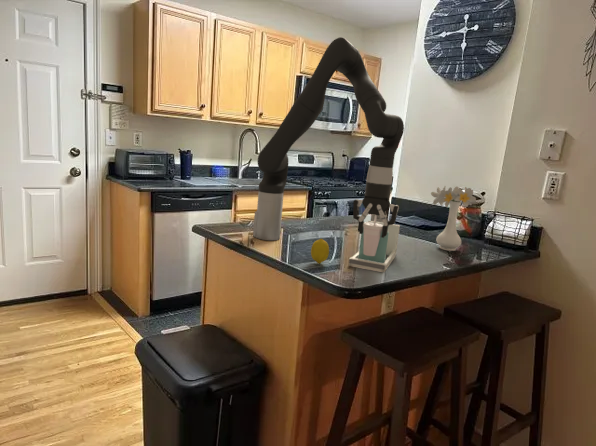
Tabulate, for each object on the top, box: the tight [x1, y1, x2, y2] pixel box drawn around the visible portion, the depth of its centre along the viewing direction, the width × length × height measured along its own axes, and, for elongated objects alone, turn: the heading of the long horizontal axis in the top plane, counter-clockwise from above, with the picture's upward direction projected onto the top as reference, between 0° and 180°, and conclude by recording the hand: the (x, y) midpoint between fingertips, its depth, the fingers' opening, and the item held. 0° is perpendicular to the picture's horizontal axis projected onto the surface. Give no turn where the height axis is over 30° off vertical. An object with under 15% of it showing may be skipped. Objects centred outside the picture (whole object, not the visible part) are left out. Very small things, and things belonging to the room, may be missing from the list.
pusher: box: [358, 229, 389, 263], centre depth 136 cm, size 8×1×10 cm, turn 69°
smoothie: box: [363, 215, 383, 256], centre depth 132 cm, size 6×6×14 cm
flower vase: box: [430, 185, 477, 252], centre depth 166 cm, size 13×18×25 cm
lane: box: [348, 220, 401, 273], centre depth 140 cm, size 11×23×11 cm, turn 159°
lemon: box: [310, 238, 330, 265], centre depth 131 cm, size 6×6×8 cm
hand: (371, 235), depth 133 cm, fingers closed on smoothie, 6 cm apart
